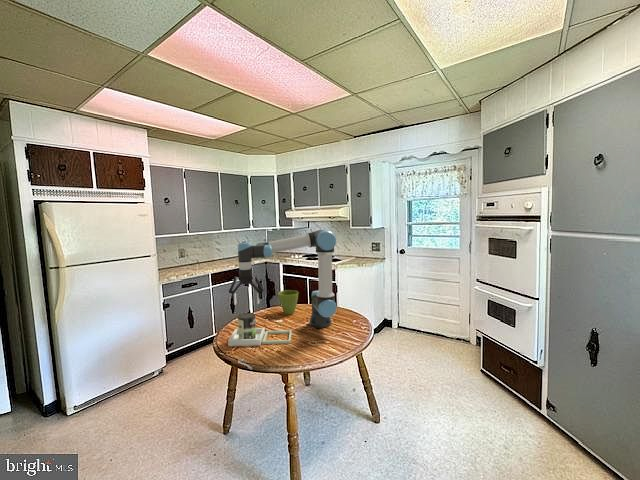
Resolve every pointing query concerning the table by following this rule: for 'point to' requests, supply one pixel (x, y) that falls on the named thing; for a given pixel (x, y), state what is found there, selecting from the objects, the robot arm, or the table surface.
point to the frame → (277, 340)
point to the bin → (246, 342)
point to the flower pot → (288, 300)
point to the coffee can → (246, 326)
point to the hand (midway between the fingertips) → (246, 303)
